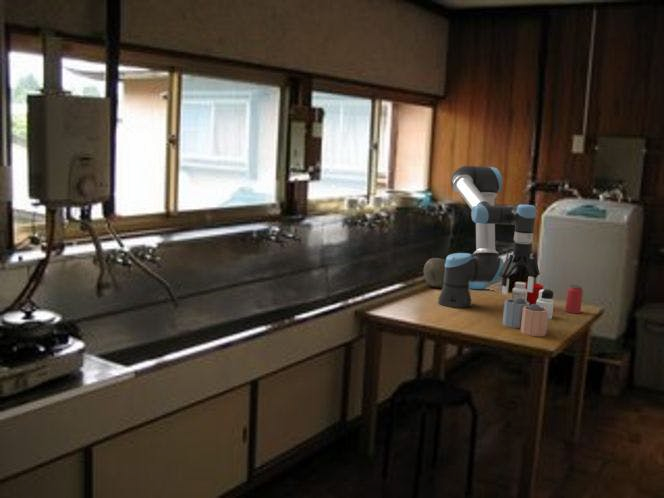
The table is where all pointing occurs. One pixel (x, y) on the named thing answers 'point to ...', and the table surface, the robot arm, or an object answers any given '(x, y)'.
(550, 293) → the medicine bottle
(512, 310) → the slate tube
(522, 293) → the supplement bottle
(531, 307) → the charcoal ball
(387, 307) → the table surface
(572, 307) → the beer can
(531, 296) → the ceramic cup
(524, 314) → the terracotta tube
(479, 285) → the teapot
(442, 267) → the grey stone sphere
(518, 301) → the charcoal ball
